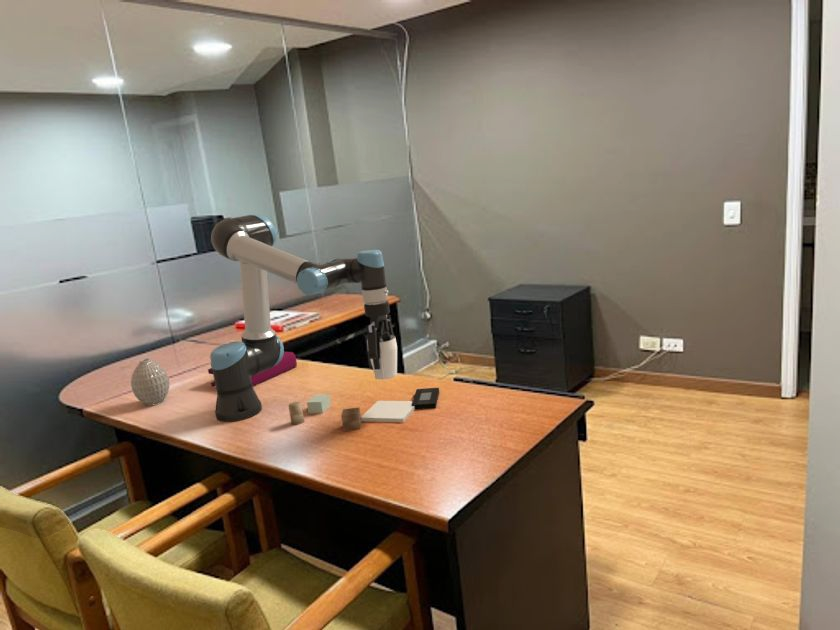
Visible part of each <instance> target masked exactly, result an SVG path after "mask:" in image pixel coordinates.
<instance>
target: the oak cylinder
mask: <svg viewBox="0 0 840 630" xmlns="http://www.w3.org/2000/svg"><path fill="white" fill-rule="evenodd" d="M287 406H288V410H289V411H288V412H289V418H290V423H291V425H293V426H295V425H296V426H297V425H301V424H303V423H304V422H305V417H304V412H303V406H302V402H301V401H294V402H291V403H289V404H288V405H287Z"/></svg>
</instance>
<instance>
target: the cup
mask: <svg viewBox="0 0 840 630" xmlns="http://www.w3.org/2000/svg"><path fill="white" fill-rule="evenodd" d="M366 344H367V347H368V339H367V340H366ZM397 344H398V343H397V339H396V336H395V335H394V336H393V335H390V341H386V342H383V340H382V337H381V342H380V358H382V363H383V370H384V379H380V380H382V381H383V380H390V379H393V378H395V377H396V376H397V375H398V345H397ZM370 363H371V367H372V370H373V371H374V365H373V359H370ZM373 373H374V372H373ZM374 375H375V373H374Z"/></svg>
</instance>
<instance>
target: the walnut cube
mask: <svg viewBox="0 0 840 630" xmlns="http://www.w3.org/2000/svg"><path fill="white" fill-rule="evenodd" d="M361 417H362V415H361V409H360V407H351V408H343V409H342V412H341V417H340V418H341V421H342V429H343V432H346V431H348V432H349V431H355V430H361V429H362V428H361V427H362V422H363V421H361Z"/></svg>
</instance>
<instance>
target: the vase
mask: <svg viewBox="0 0 840 630" xmlns="http://www.w3.org/2000/svg"><path fill="white" fill-rule="evenodd" d="M169 379H170V378H169V375H168V373H167V372H166V369H164V367H162V366H161V364H159V363H157V362H156V361H154V360H152V358H149V357H148V358H143V359H141V360H139V363H138V364H137V366H136V367H135V368H134V369H133V372H132V375H131V379H130V380H131V381H130V385H131V390H132V393H133V395H134V396H135V398H136V399H137V400H138V401H139V402H140V403H142V404H144V405H145V406H149V405H150V406H154V405H153V404H156V405H159V404H161V403H163V402H164V401H165V399H166V398H167V396H168V393H169V390H170V380H169ZM158 403H159V404H158Z"/></svg>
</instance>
